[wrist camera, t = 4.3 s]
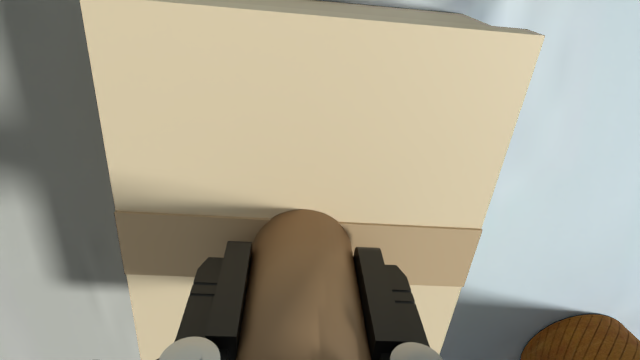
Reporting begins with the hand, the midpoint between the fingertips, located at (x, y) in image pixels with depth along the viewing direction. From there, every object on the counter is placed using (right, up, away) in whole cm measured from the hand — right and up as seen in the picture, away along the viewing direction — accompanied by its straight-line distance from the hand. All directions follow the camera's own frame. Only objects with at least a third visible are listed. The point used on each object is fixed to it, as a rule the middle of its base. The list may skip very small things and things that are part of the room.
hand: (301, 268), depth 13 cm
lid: (0, +1, +2) cm, 2 cm away
